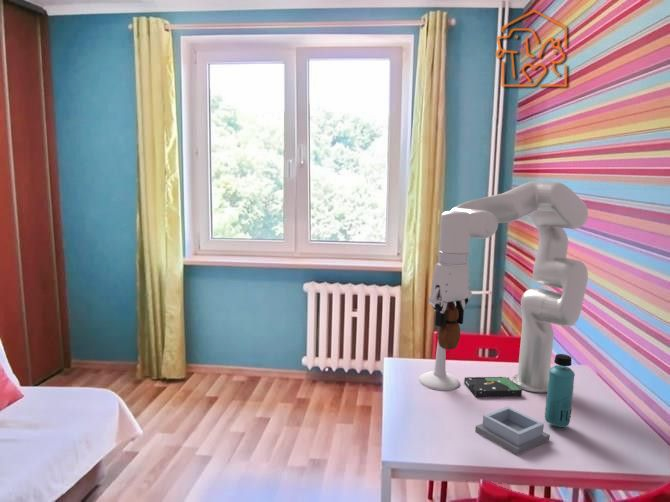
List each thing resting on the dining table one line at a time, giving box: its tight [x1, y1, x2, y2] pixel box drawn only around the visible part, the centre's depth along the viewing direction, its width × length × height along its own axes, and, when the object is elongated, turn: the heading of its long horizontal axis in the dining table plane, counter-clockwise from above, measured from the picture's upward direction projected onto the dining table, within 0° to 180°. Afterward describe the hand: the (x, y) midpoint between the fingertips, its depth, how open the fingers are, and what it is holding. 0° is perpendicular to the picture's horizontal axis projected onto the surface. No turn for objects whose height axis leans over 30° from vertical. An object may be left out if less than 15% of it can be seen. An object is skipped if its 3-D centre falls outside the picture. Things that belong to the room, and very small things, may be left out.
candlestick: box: [418, 303, 460, 391], centre depth 161 cm, size 13×13×30 cm
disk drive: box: [463, 376, 523, 398], centre depth 158 cm, size 10×3×15 cm
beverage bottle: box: [543, 353, 576, 427], centre depth 135 cm, size 6×7×20 cm
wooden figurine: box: [437, 302, 461, 351], centre depth 134 cm, size 7×6×15 cm
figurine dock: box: [474, 406, 551, 456], centre depth 130 cm, size 13×13×4 cm
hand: (449, 323), depth 135 cm, fingers closed on wooden figurine, 5 cm apart
